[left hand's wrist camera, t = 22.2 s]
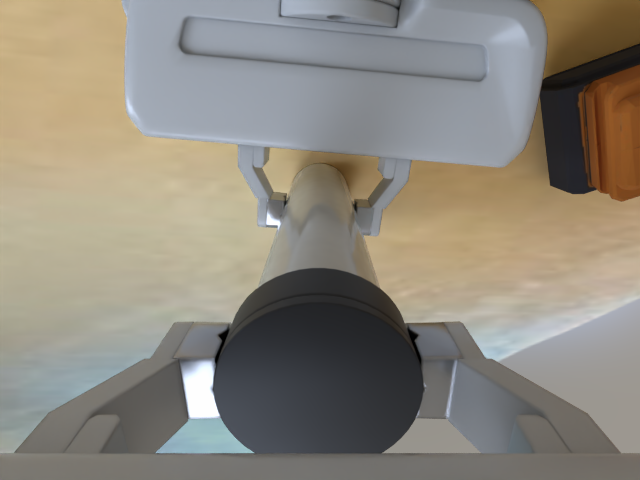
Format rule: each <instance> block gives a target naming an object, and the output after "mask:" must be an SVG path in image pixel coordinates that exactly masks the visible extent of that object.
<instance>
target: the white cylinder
mask: <svg viewBox="0 0 640 480" xmlns="http://www.w3.org/2000/svg"><path fill="white" fill-rule="evenodd" d="M307 268H329V269H337V270H341V271H346V272H349V273H352V274H355V275H357V276H360V277H362V278H364V279H366V280H368V281H370V282H372V283H373V284H374V285H376V286H377V287H379V288H380V286H379V283H378V280H377V277H376V273H375V270H374V267H373V264H372V261H371V258H370V255H369V251H368V248H367V245H366V242H365V239H364V236H363V233H362V229H361V226H360V223H359V220H358V217H357V214H356V211H355V207H354V204H353V201H352V198H351V195H350V192H349V189H348V185H347V182H346V180H345V178H344V176H343V175H342V174H341V172H340V171H338V170H337V169H336V168H334V167H333V166H330V165H327V164H321V163H318V164H312V165H309V166H307V167H305V168H303V169H302V170H301V171H300V172H299V173H298V174H297V175H296V177H295V178H294V180H293V183H292V186H291V189H290V192H289V195H288V198H287V201H286V204H285V207H284V210H283V213H282V216H281V219H280V222H279V225H278V228H277V231H276V234H275V237H274V240H273V243H272V246H271V249H270V252H269V255H268V258H267V261H266V264H265V267H264V270H263V273H262V276H261V279H260V282H259V285H258V287H260V286H261V285H263V284H264V283H265V282H267V281H269V280H271V279H273V278H275V277H277V276H280V275H282V274H285V273H287V272H291V271H295V270H299V269H307Z"/></svg>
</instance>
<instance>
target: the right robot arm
mask: <svg viewBox="0 0 640 480" xmlns="http://www.w3.org/2000/svg"><path fill="white" fill-rule="evenodd" d="M122 5H123V9H124V12H125V14H126V17H127V26H126V41H125V65H124V83H125V105H126V111H127V114H128V116H129V118H130V119H131V120H132V122H133V123H134V124H135V125H136V127H137V128H138V129H139V131H140V132H141V133H142V134H143V135H145V136H149V137H159V138H171V139H182V140H193V141H205V142H216V143H227V144H238V167H239V169H240V171H241V172H242V174H243V176H244V178H245V179H246V181H247V183H248V185H249V187H250V188H251V190H252V192H253V194H254V195H255V197H256V198H258V222H257V223H258V226H259V227H272V228H278V225H279V222H280V219H281V216H282V213H283V210H284V207H285V204H286V200H287V193H280V192H273V189H272V187H271V185H270V183H269V181H268V179H267V177H266V175H265V173H264V171H263V169H262V167H263V166H264V165H265V164H266V163H267V162H268V160H269V149H270V147H272V148H284V149H295V150H306V151H318V152H329V153H340V154H352V155H363V156H374V157H379V162H378V171H379V172H380V173H381V174H382V176H383V177H384V178H383V179H382V180H381V182H380V183H379V184H378V186H377V187H376V188H375V190H374V191H373V193H372V194H371V195H370V197H369V198H368V200H363V199H354V207H355V211H356V214H357V217H358V220H359V223H360V226H361V229H362V233H363V235H366V236H378V235H379V231H380V224H381V218H382V211H383V209H385V208H386V207H387V206H388V205H389V203H390V202H391V201H392V200H393V199H394V197H395V196H396V195H397V194H398V193H399V191H400V190H401V189H402V188H403V186H404V185H405V184H406V183H407V182H408V178H409V172H410V167H411V161H412V160H419V161H431V162H442V163H453V164H465V165H476V166H488V167H499V168H501V167H505V166H506V165H508V164H509V163H510V162H511V161H512V160H513V159H515V158H516V157H517V156H518V155H519V154H520V153H521V152H522V151H523V150H524V148H525V146H526V144H527V142H528V139H529V136H530V132H531V129H532V125H533V121H534V117H535V113H536V109H537V105H538V100H539V96H540V90H541V85H542V80H543V74H544V68H545V62H546V54H547V43H548V42H547V28H546V23H545V20H544V17H543V15H542V13H541V11H540V10H539V9H538V7H537V6H536V5H535V4H533V3H532V2H531V1H529V0H122Z"/></svg>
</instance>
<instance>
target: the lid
mask: <svg viewBox="0 0 640 480" xmlns="http://www.w3.org/2000/svg"><path fill="white" fill-rule="evenodd" d="M423 390H424V383H423V374H422V369H421V365H420V362H419V360H418V357H417V355H416V352H415V349H414V346H413V344H412V341H411V339H410V336H409V333H408V331H407V328H406V325H405V323H404V320H403V318H402V315H401V313H400V311H399V310H398V308H397V306H396V305H395V304H394V302H393V301H392V300H391V299H390V297H389V296H388V295H387V294H386V293H384V292H383V291H382V290H381V289H380V288H379V287H377V286H376V285H374V284H373V283H372V282H370V281H368V280H366V279H364V278H362V277H360V276H357V275H355V274H352V273H349V272H346V271H341V270H337V269H329V268H307V269H299V270H295V271H291V272H287V273H285V274H282V275H280V276H277V277H275V278H273V279H271V280H269V281H267V282H265V283H264V284H263V285H261V286H260V287H258V288H257V289H256V290H255V291H254V292H252V293H251V294H250V295H249V296H248V297H247V299H246V300H245V301H244V302H243V304H242V305H241V306H240V308H239V310H238V312H237V313H236V315H235V318H234V320H233V323H232V325H231V328H230V330H229V333H228V336H227V338H226V341H225V343H224V346H223V348H222V351H221V353H220V356H219V359H218V361H217V364H216V367H215V372H214V377H213V393H214V400H215V403H216V407H217V410H218V412H219V415H220V417H221V419H222V421H223V422H224V424H225V425H226V427H227V428H228V430H229V431H230V432H231V433H232V434H233V435H234V437H235V438H236V439H237V440H239V441H240V442H241V443H242V444H243V445H244V446H246V447H247V448H249V449H250V450H251V451H253V452H254V453H382V452H384V451H385V450H387V449H388V448H390V447H391V446H392V445H394V444H395V443H396V442H397V441H398V440H399V439H400V438H401V437H402V436H403V435H404V434H405V433H406V432H407V431H408V429H409V428H410V426H411V425H412V423H413V422H414V420H415V418H416V416H417V414H418V412H419V409H420V406H421V402H422V398H423Z"/></svg>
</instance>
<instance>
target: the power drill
mask: <svg viewBox="0 0 640 480" xmlns="http://www.w3.org/2000/svg"><path fill="white" fill-rule="evenodd" d="M540 101H541V110H542V118H543V127H544V136H545V144H546V153H547V161H548V170H549V179H550V186H553V187H556V188H558V189H561V190H563V191H566V192H568V193H571V194H585V193H588V192H591V191H594V190H598V191H599V192H600V193H605V194H609V195H610V196H611V198H612V199H615V200H618V201H625V200H628V199H631V198H634V197H638V196H640V44H637V45H634V46H632V47H629V48H626V49H623V50H621V51H618V52H615V53H612V54H610V55H607V56H604V57H601V58H599V59H596V60H593V61H590V62H588V63H585V64H582V65H579V66H577V67H574V68H571V69H568V70H566V71H563V72H560V73H557V74H555V75H552V76H549V77H546V78H545V79H543V80H542V85H541V90H540Z"/></svg>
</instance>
